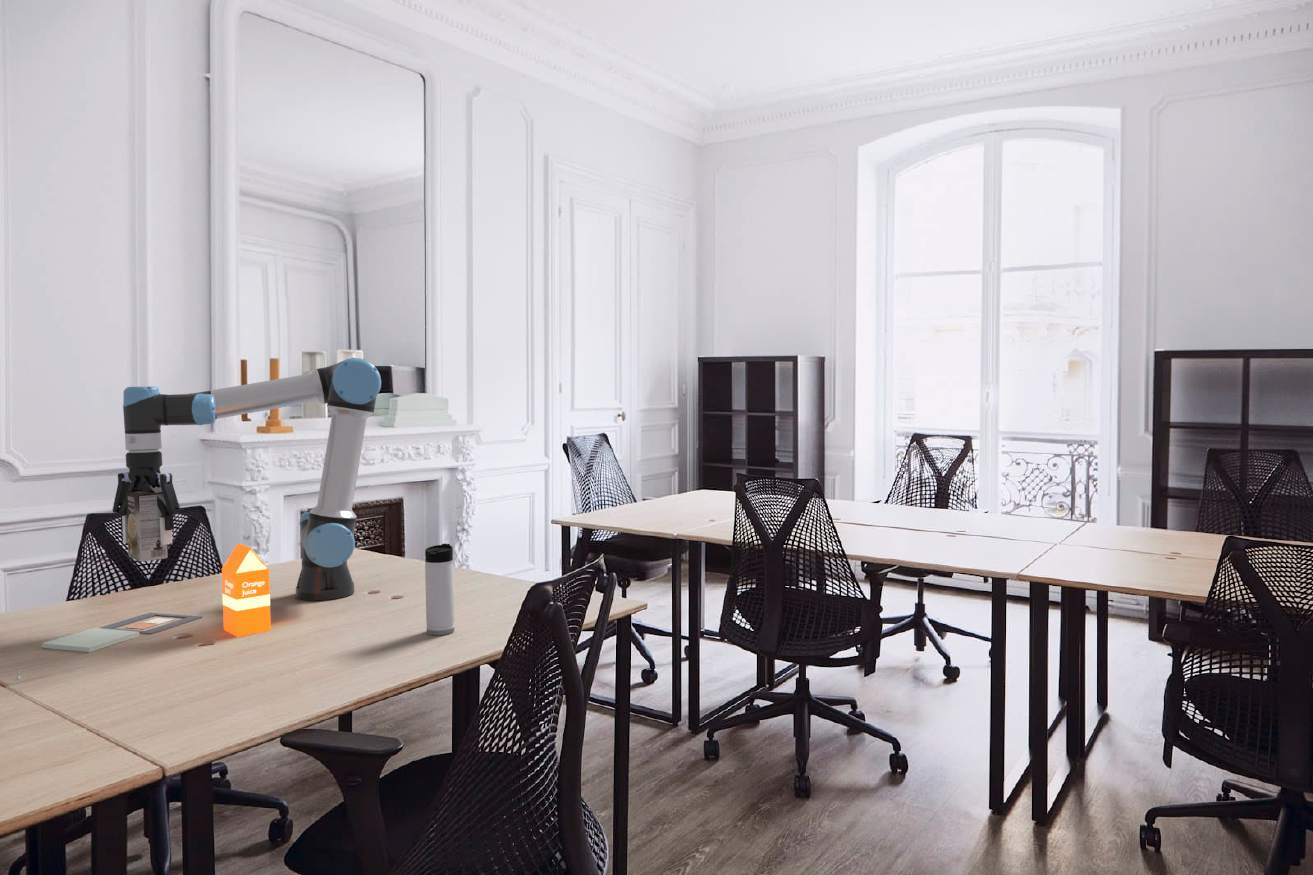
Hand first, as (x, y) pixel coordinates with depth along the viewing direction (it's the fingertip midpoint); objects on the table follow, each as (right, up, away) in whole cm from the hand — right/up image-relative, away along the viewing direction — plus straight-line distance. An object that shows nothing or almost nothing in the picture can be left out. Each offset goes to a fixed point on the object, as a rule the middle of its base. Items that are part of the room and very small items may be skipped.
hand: (147, 543), depth 215 cm
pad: (-4, -20, -14) cm, 25 cm away
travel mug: (+72, -20, -8) cm, 75 cm away
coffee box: (0, -4, 0) cm, 4 cm away
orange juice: (+26, -20, -5) cm, 33 cm away
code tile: (0, -20, +1) cm, 20 cm away
